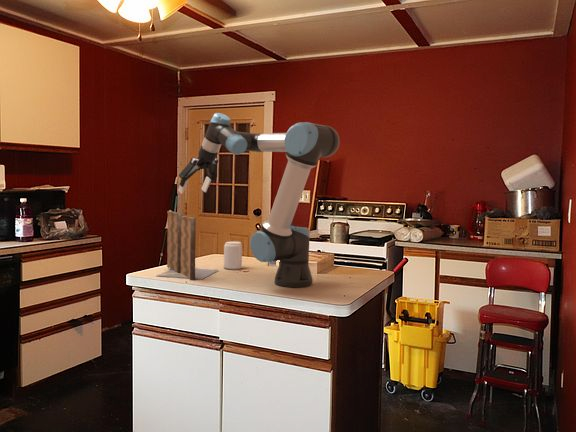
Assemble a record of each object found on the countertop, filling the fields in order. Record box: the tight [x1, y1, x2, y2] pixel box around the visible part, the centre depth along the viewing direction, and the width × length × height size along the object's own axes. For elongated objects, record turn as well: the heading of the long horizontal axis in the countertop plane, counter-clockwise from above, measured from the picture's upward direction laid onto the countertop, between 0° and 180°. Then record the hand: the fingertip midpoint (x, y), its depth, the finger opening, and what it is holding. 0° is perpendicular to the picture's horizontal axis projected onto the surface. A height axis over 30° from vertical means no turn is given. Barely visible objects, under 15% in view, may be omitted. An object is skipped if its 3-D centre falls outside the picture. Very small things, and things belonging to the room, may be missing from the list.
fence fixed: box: [177, 212, 197, 281], centre depth 215 cm, size 16×2×26 cm, turn 33°
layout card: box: [156, 268, 219, 280], centre depth 223 cm, size 20×20×1 cm
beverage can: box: [223, 241, 243, 271], centre depth 237 cm, size 8×8×12 cm
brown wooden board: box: [166, 210, 179, 271], centre depth 227 cm, size 12×1×25 cm, turn 33°
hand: (192, 191), depth 225 cm, fingers open, 13 cm apart
